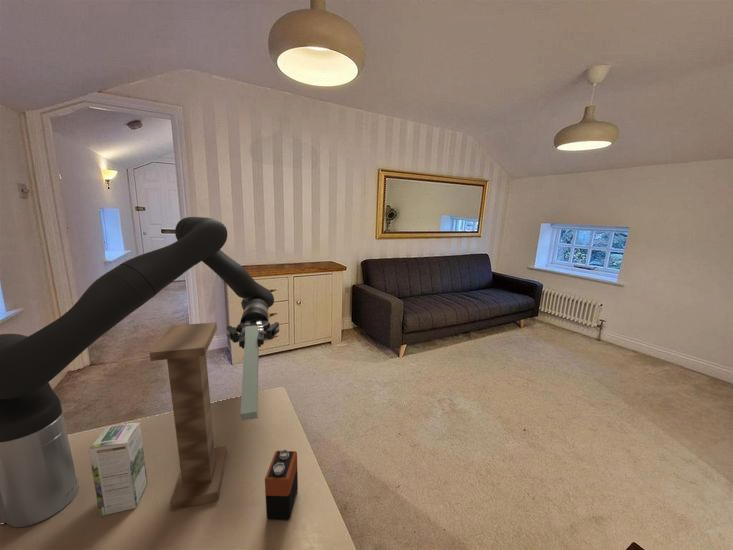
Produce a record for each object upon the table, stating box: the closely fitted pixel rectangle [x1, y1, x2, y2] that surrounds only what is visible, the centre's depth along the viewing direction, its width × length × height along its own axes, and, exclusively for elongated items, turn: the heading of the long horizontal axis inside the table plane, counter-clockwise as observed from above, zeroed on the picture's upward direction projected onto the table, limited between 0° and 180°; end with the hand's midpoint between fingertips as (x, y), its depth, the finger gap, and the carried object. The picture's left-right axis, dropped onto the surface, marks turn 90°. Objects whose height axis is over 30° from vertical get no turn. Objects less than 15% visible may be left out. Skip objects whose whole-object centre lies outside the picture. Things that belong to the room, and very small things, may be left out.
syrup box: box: [88, 422, 148, 517], centre depth 56 cm, size 6×6×14 cm
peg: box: [240, 326, 260, 421], centre depth 69 cm, size 3×22×3 cm
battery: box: [264, 449, 299, 521], centre depth 57 cm, size 4×7×10 cm, turn 179°
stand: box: [149, 322, 228, 512], centre depth 59 cm, size 8×12×32 cm, turn 17°
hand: (251, 344), depth 72 cm, fingers closed on peg, 3 cm apart
